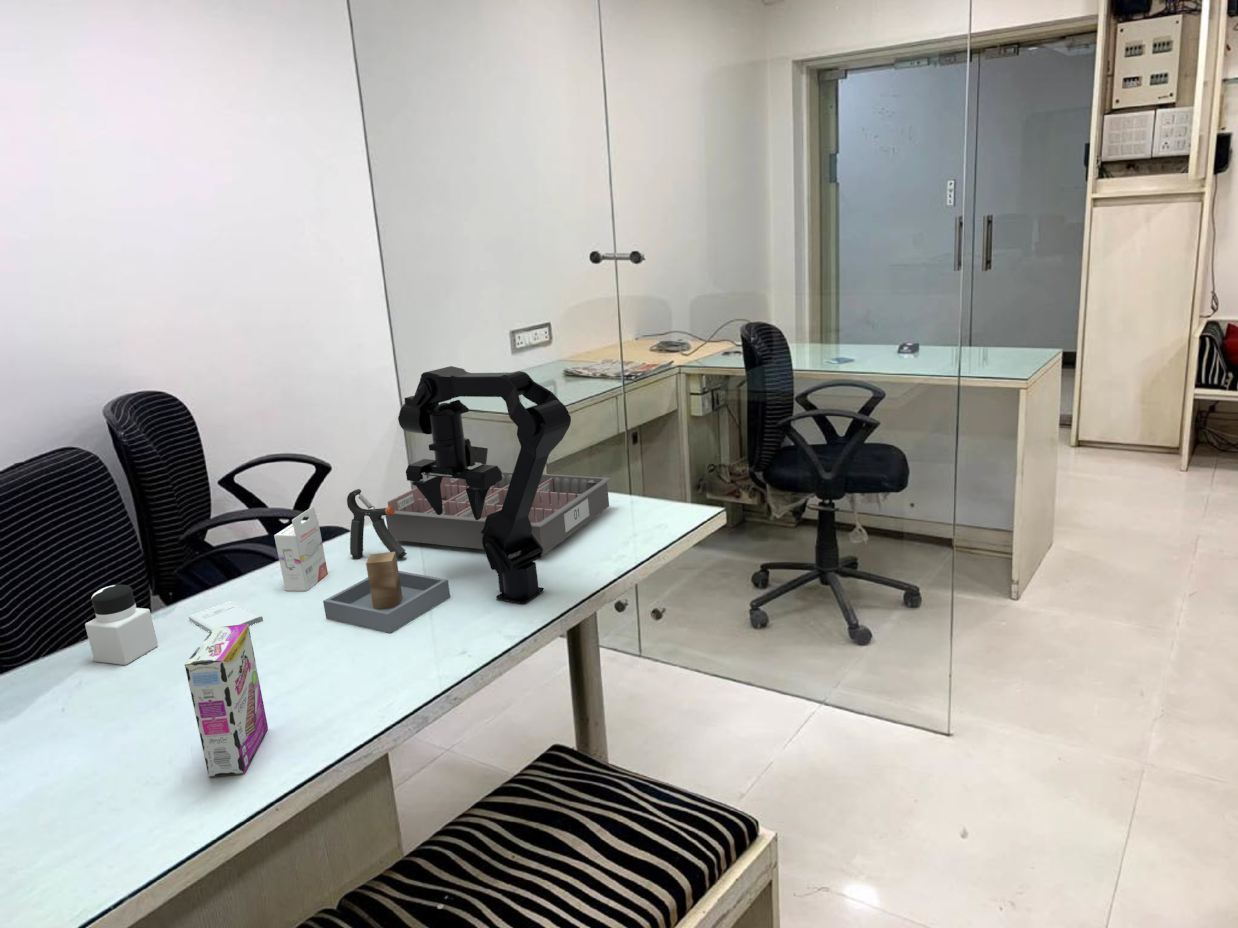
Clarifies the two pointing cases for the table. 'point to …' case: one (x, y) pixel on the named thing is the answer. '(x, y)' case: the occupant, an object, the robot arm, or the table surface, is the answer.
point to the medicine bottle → (119, 627)
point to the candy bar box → (227, 699)
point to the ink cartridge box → (301, 552)
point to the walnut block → (384, 580)
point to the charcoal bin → (359, 609)
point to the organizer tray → (551, 515)
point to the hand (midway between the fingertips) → (458, 516)
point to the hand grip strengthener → (377, 523)
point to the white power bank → (225, 616)
